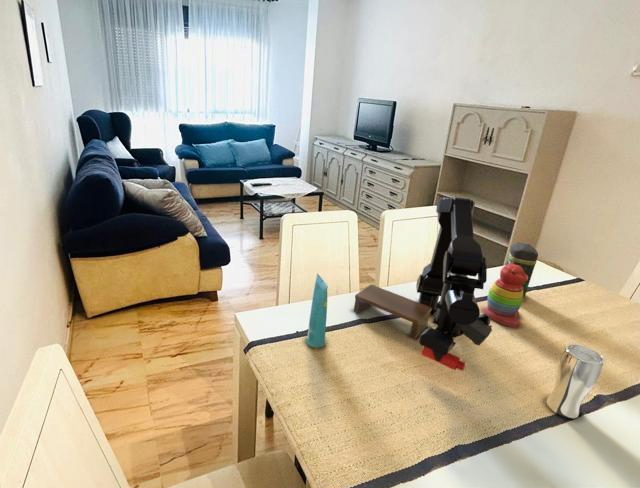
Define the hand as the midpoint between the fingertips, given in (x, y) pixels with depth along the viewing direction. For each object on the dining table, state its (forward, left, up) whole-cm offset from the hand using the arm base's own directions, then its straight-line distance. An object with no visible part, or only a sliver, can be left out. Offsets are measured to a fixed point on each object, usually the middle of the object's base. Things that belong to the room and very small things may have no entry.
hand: (440, 357), depth 92 cm
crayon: (0, 0, -1) cm, 1 cm away
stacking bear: (-43, +5, -6) cm, 44 cm away
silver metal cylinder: (-10, +25, -6) cm, 28 cm away
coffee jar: (-62, +4, -6) cm, 63 cm away
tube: (+10, -29, -6) cm, 31 cm away
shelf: (-16, -20, -6) cm, 26 cm away
